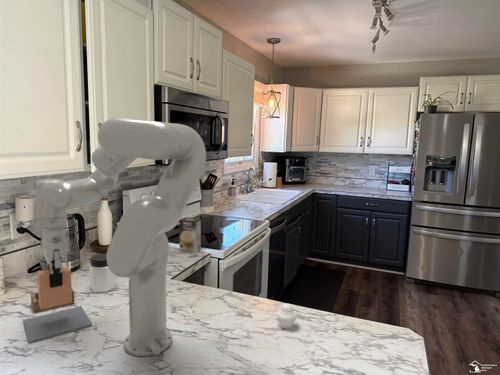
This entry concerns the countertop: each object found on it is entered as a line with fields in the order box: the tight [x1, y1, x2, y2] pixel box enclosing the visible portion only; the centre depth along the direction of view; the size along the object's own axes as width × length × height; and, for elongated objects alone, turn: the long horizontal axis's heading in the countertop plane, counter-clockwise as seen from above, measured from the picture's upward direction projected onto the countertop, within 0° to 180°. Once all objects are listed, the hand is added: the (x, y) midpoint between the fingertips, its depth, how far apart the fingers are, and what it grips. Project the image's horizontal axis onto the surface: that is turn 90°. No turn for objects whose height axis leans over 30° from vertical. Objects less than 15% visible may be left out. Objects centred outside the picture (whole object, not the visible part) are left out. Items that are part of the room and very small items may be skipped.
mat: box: [22, 305, 93, 344], centre depth 104 cm, size 14×16×1 cm
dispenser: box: [30, 288, 75, 314], centre depth 117 cm, size 8×12×5 cm
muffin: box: [275, 303, 298, 330], centre depth 106 cm, size 6×6×7 cm
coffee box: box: [179, 216, 202, 254], centre depth 176 cm, size 9×6×16 cm
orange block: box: [37, 265, 73, 310], centre depth 103 cm, size 4×8×10 cm, turn 127°
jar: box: [88, 252, 117, 294], centre depth 129 cm, size 9×8×12 cm
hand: (54, 282), depth 103 cm, fingers closed on orange block, 4 cm apart
